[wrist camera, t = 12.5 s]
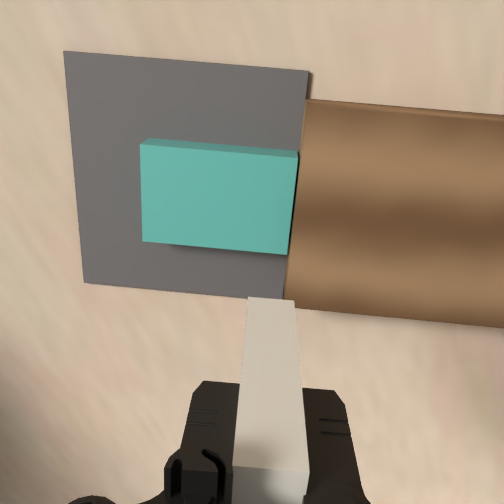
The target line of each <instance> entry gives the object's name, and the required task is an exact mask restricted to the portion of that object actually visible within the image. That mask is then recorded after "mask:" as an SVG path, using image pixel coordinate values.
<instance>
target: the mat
mask: <svg viewBox="0 0 504 504" xmlns="http://www.w3.org/2000/svg"><path fill="white" fill-rule="evenodd" d="M63 54H64V65H65V76H66V88H67V99H68V110H69V121H70V132H71V144H72V155H73V166H74V177H75V188H76V200H77V211H78V222H79V233H80V244H81V256H82V267H83V278H84V283H92V284H103V285H113V286H124V287H134V288H145V289H155V290H166V291H176V292H186V293H197V294H207V295H218V296H228V297H239V298H248V297H257V298H269V299H281V300H282V296H283V287H284V279H285V270H286V262H287V255H283V254H273V253H262V252H251V251H241V250H230V249H219V248H209V247H198V246H187V245H176V244H166V243H155V242H144V241H142V205H141V169H140V144H141V143H143V142H144V141H145V140H147V139H148V138H156V139H167V140H179V141H190V142H202V143H213V144H224V145H236V146H247V147H259V148H270V149H282V150H293V151H297V154H298V159H299V150H300V141H301V133H302V124H303V116H304V107H305V98H306V90H307V81H308V73H309V71H304V70H292V69H280V68H268V67H255V66H243V65H231V64H219V63H207V62H195V61H182V60H170V59H158V58H146V57H134V56H122V55H110V54H97V53H85V52H73V51H63ZM297 167H298V163H297ZM296 176H297V172H296ZM295 184H296V181H295ZM294 193H295V189H294ZM293 201H294V198H293ZM292 210H293V206H292ZM291 219H292V215H291ZM290 227H291V223H290ZM289 236H290V232H289ZM288 244H289V241H288ZM287 253H288V249H287Z"/></svg>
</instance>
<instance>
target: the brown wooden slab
mask: <svg viewBox="0 0 504 504" xmlns="http://www.w3.org/2000/svg"><path fill="white" fill-rule="evenodd" d="M284 300H293V301H294V305H295V308H300V309H310V310H321V311H331V312H341V313H352V314H362V315H373V316H383V317H393V318H404V319H414V320H425V321H435V322H445V323H456V324H466V325H477V326H487V327H497V328H504V115H496V114H484V113H472V112H460V111H448V110H436V109H424V108H412V107H400V106H388V105H376V104H364V103H353V102H341V101H329V100H317V99H305V107H304V116H303V124H302V133H301V141H300V150H299V159H298V167H297V176H296V184H295V193H294V201H293V210H292V219H291V227H290V236H289V244H288V253H287V262H286V270H285V279H284Z"/></svg>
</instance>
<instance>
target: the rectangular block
mask: <svg viewBox="0 0 504 504" xmlns="http://www.w3.org/2000/svg"><path fill="white" fill-rule="evenodd" d="M297 163H298V154H297V151H293V150H282V149H270V148H259V147H247V146H236V145H224V144H213V143H202V142H190V141H179V140H167V139H156V138H148V139H147V140H145V141H144V142H143V143H141V144H140V169H141V205H142V241H144V242H155V243H166V244H176V245H187V246H198V247H209V248H219V249H230V250H241V251H251V252H262V253H273V254H283V255H287V249H288V241H289V232H290V223H291V215H292V206H293V198H294V189H295V181H296V172H297Z"/></svg>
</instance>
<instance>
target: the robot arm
mask: <svg viewBox="0 0 504 504" xmlns="http://www.w3.org/2000/svg"><path fill="white" fill-rule="evenodd" d="M69 504H115V503H114V502H112V501H111V500H109V499H107V498H106V497H101V496H93V495H91V496H87V497H82V498H78V499H76V500H74V501H72V502H70V503H69ZM139 504H371V503H370V502H369V501H368V500H367V498H366V497H365V495H364V492H363V489H362V486H361V481H360V476H359V471H358V466H357V462H356V457H355V452H354V447H353V442H352V437H351V432H350V428H349V424H348V418H347V413H346V408H345V404H344V403H343V402H342V400H341V399H340V398H339V396H338V395H337V394H336V392H335V391H334V390H323V389H311V388H302V382H301V371H300V360H299V349H298V338H297V327H296V316H295V305H294V301H293V300H281V299H269V298H257V297H248V303H247V313H246V324H245V335H244V345H243V356H242V367H241V377H240V384H237V383H225V382H213V381H203V382H202V383H201V384H200V385H199V387H198V388H197V389H196V390H195V391H194V392H193V395H192V399H191V403H190V408H189V412H188V417H187V421H186V425H185V430H184V434H183V438H182V443H181V447H180V449H178V450H177V451H176V452H175V453H174V454H173V455H171V456H170V457H169V459H168V461H167V463H166V465H165V467H164V490H163V491H162V492H161V493H160V494H159V495H157V496H156V497H154V498H152V499H151V500H148V501H145V502H142V503H139Z"/></svg>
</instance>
